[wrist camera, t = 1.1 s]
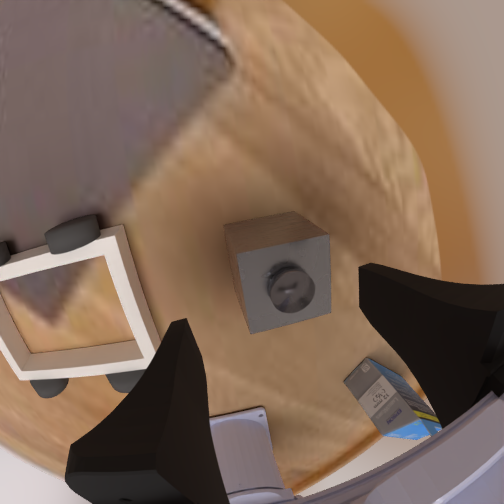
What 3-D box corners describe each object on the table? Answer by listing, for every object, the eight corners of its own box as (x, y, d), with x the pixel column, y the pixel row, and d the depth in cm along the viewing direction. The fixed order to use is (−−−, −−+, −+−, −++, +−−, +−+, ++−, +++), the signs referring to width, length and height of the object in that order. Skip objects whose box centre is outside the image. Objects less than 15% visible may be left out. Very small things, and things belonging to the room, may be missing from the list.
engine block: (299, 275, 22) (336, 319, 16) (234, 290, 22) (253, 342, 16) (294, 211, 20) (336, 239, 15) (222, 224, 20) (239, 259, 14)
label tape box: (341, 380, 28) (398, 469, 17) (368, 353, 27) (436, 437, 16) (380, 396, 31) (430, 465, 20) (403, 373, 31) (459, 440, 19)
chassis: (167, 356, 22) (166, 387, 19) (34, 372, 20) (23, 398, 17) (118, 206, 18) (104, 220, 14) (-24, 251, 16) (-48, 268, 12)
